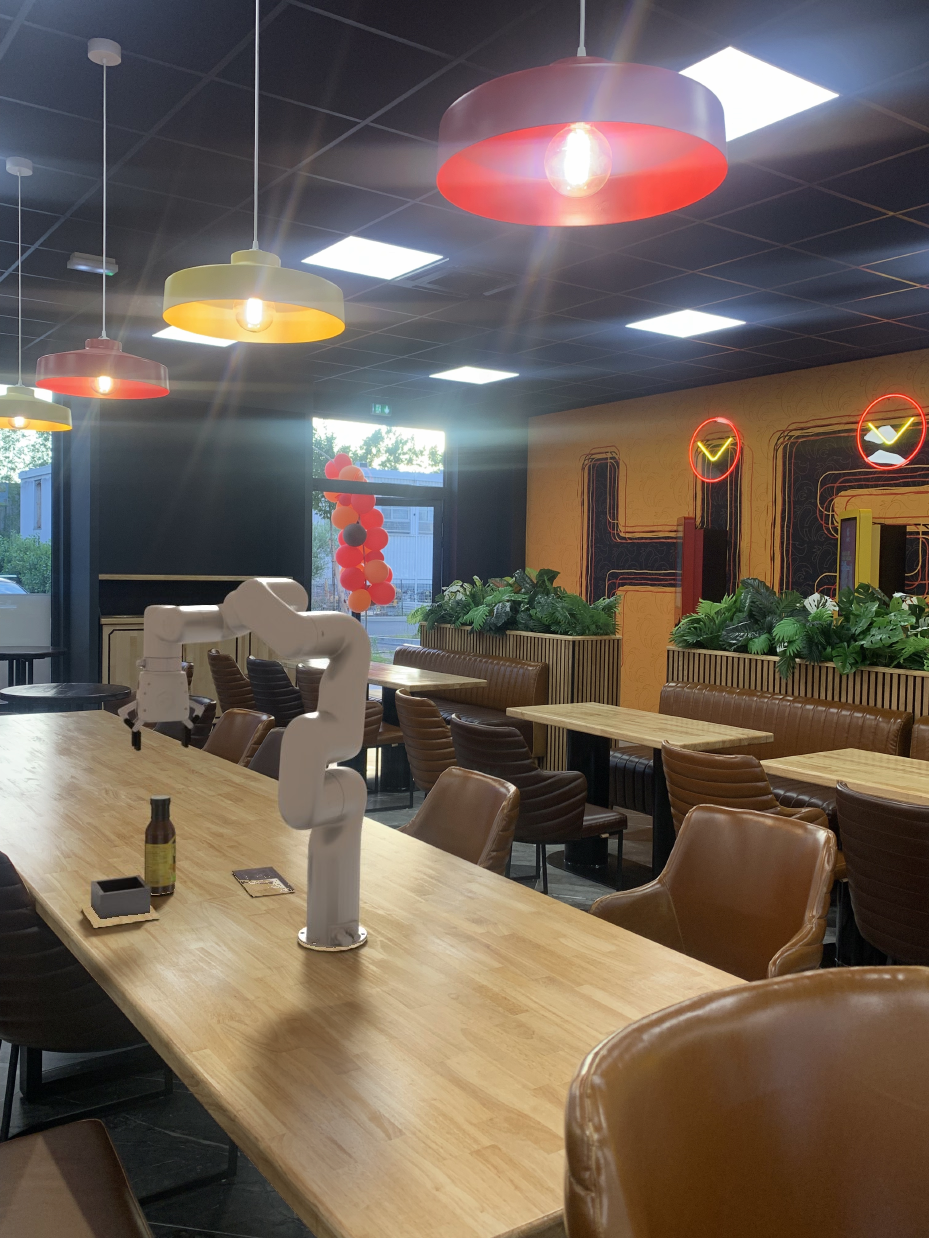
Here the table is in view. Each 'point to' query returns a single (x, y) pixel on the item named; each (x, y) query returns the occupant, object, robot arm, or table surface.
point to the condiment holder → (120, 897)
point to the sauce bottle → (160, 847)
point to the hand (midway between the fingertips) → (161, 748)
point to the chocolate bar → (261, 873)
